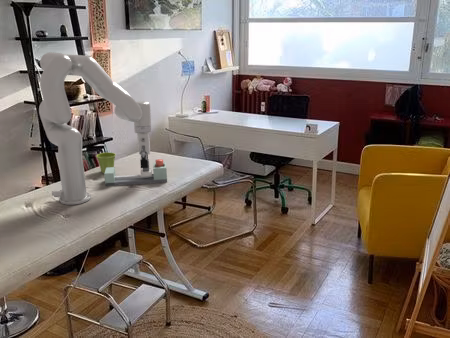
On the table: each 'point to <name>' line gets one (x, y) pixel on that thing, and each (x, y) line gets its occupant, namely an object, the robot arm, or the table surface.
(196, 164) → the table surface
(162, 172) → the rail track
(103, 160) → the plant pot
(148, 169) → the carriage
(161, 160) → the button
